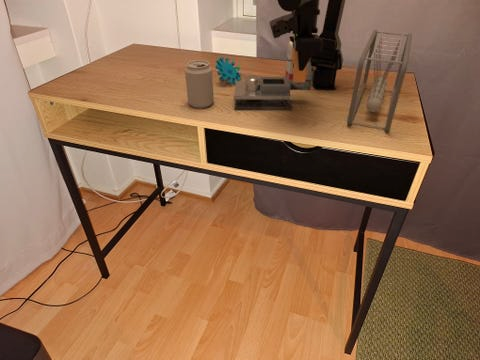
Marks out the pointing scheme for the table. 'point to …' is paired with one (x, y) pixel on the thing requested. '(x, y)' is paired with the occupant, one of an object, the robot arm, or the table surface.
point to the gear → (228, 70)
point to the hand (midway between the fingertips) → (300, 68)
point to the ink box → (291, 65)
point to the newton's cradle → (379, 78)
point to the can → (199, 83)
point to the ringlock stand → (266, 93)
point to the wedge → (298, 75)
